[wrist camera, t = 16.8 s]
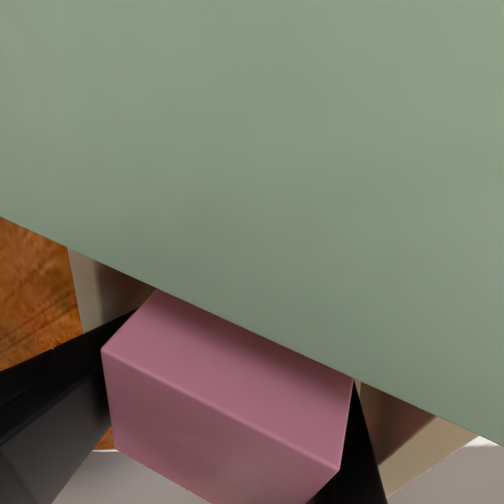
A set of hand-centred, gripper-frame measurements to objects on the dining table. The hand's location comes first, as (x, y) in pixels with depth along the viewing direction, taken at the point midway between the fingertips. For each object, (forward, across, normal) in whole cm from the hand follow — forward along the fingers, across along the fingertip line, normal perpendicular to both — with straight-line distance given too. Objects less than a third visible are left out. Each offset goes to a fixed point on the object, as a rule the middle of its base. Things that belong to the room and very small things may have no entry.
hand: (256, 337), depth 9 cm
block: (+1, 0, 0) cm, 1 cm away
